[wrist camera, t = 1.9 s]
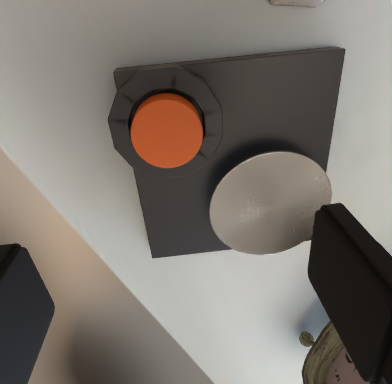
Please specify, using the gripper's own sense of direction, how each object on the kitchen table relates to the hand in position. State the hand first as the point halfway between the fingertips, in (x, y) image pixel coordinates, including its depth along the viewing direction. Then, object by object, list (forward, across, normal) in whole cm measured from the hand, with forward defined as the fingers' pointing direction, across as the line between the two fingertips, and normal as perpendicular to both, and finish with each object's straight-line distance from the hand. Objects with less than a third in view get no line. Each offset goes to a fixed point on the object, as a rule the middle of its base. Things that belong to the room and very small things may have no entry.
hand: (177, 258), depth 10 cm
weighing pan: (+12, -7, +7) cm, 15 cm away
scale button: (+12, 0, -1) cm, 12 cm away
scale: (+15, -4, +4) cm, 16 cm away
